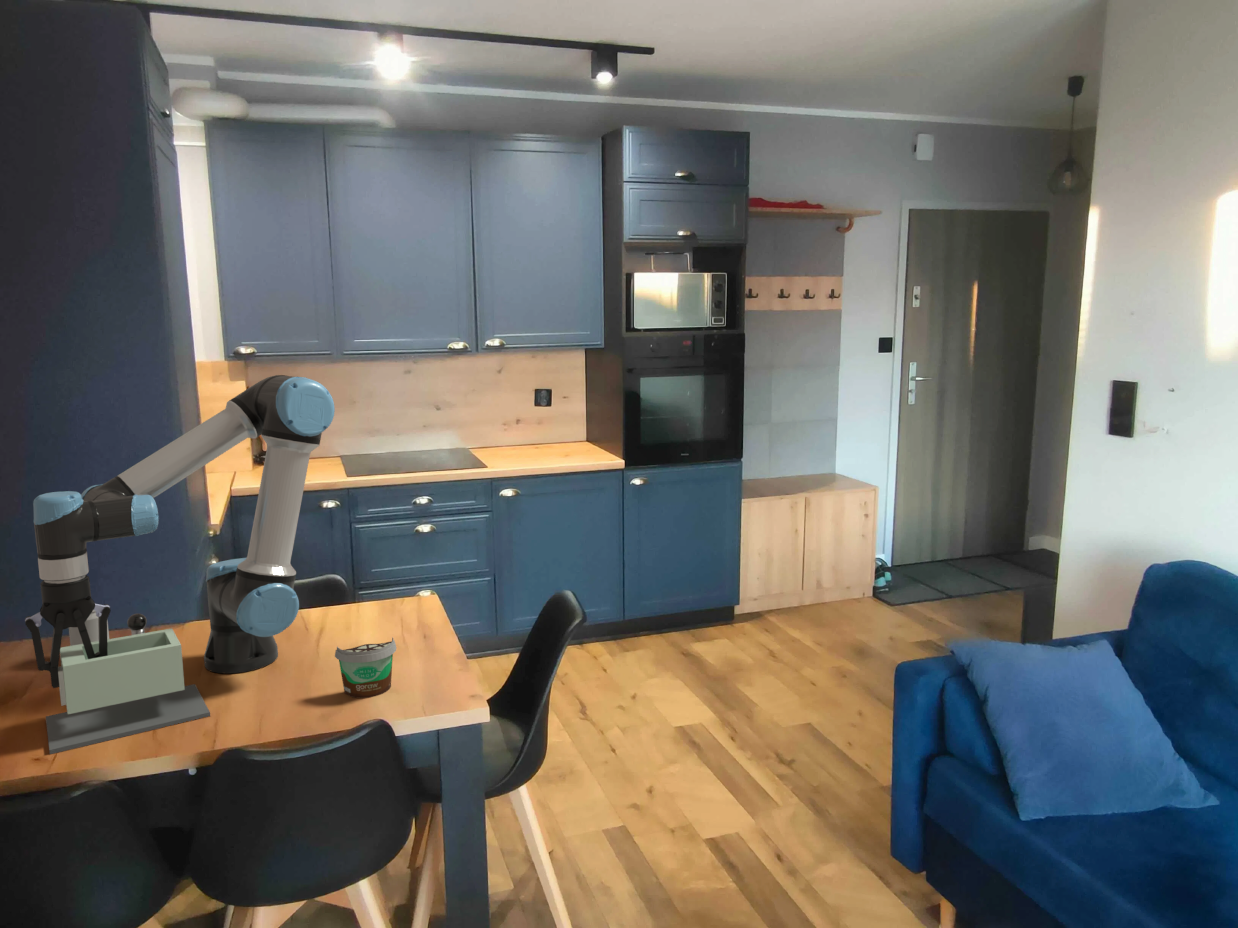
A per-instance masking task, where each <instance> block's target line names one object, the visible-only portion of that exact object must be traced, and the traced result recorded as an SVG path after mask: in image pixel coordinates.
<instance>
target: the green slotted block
mask: <svg viewBox="0 0 1238 928" xmlns="http://www.w3.org/2000/svg"><path fill="white" fill-rule="evenodd" d="M91 644H92V647H93V650H94V653H97V652H99V641H96V642H91ZM107 649H108V656H103V657H98V658H92V659H88V657H87V654H86V651H85V648H84V645H83V644H79V645H73V646H70V645H68V646H67V645H66V646H61V647H60V656H59V658H60V665H61V666H62V669H63V677H64V687H65V697H66V705H65V706H66V712H67V713H68V714H72V713H77V712H82V711H86V710H91V709H96V708H101V707H105V706H110V705H115V704H120V703H124V702H129V701H134V700H139V699H143V698H148V697H153V696H157V695H162V694H167V693H172V692H176V691H181V690H185V688H184V686H185V676H184V675H185V674H184V663H183V652H182V651H183V650H182V644H181V642H180V640H179V638H178V637H177V635H176V632H175V631H174V629H173V628H172V627H171V628H166V629H160V630H155V631H150V632H149V631H148V632H145V633H142V634H136V635H132V634H131V635H127V636H121V637H115V638H114V637H113V638H109V639H107ZM61 666H60V667H61Z"/></svg>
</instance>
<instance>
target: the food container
mask: <svg viewBox="0 0 1238 928" xmlns="http://www.w3.org/2000/svg"><path fill="white" fill-rule="evenodd" d="M391 638H392V639H391V641H387V642H382V643H368V644H367V643H366V644H361V645H358V646H355V647H351V648H347V649H342V648H340V647H339V646H336V649H335V653H334V658H336V659H337V660H338V663H339V669H340V674H341V680H342V686H343V691H344V694H345V695H347V696H349V697H352V698H356V699H357V698H360V699H365V698H366V699H367V698H372V697H377V696H380V695H383V694H385V693H386V692H388V691H389V690H390V689H391V687H392V673H393V661H394V660H393V658H394V656H393V655H394V654H395V652H396V651H397V645H396V641H395V639H394V637H393V636H392V637H391Z"/></svg>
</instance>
